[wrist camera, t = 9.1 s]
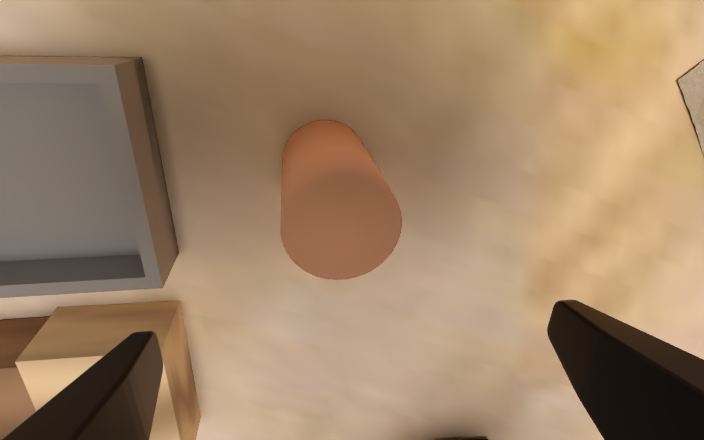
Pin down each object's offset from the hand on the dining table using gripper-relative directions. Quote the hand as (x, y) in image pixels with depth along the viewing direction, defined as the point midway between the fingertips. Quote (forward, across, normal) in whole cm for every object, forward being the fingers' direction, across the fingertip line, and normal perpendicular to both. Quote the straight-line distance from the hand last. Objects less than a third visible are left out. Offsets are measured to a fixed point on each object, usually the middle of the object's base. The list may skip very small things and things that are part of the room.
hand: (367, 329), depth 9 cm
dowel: (+12, 0, 0) cm, 12 cm away
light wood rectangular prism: (+12, +11, +12) cm, 20 cm away
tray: (+12, +12, 0) cm, 17 cm away
